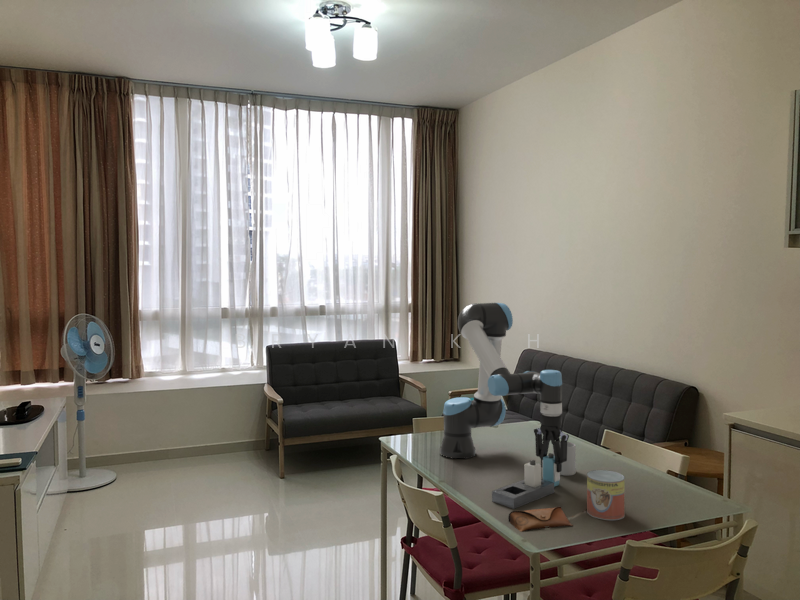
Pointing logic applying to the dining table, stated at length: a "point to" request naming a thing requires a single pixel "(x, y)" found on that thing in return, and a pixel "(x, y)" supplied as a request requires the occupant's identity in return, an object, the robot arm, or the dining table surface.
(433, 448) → the dining table surface
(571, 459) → the mug
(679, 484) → the dining table surface
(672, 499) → the dining table surface
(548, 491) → the strip
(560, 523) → the sunglasses case
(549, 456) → the plug
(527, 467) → the white knobbed block
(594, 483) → the canned food
